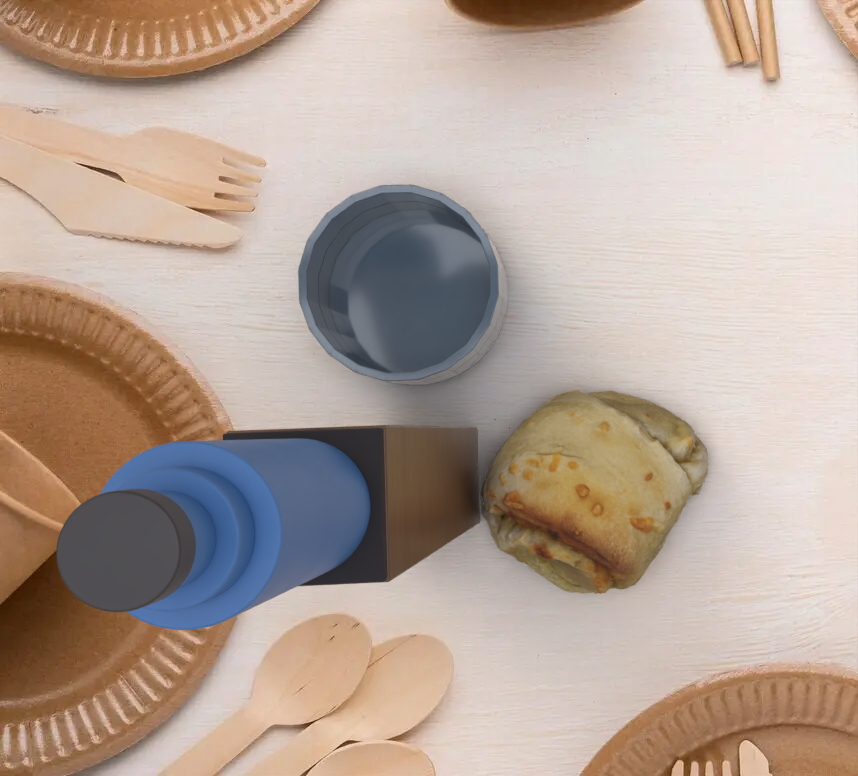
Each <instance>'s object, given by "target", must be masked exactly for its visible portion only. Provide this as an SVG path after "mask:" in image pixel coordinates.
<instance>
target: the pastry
mask: <svg viewBox="0 0 858 776" xmlns="http://www.w3.org/2000/svg"><path fill="white" fill-rule="evenodd" d="M708 459H709V457H708V450H707V447H706V445H705V443H704V441H702V439H701V438H699V437H698V436H697V434H696V433H695V429H694V428H693V426H691V425H690V424H689V422H686V421H685V420H683V419H682V418H680V417H679V416H677V415H676V414H674V413H672V412H671V411H669V410H668V409H666V408H664V407H662V406H661V405H659V404H657V403H654V402H651V401H650V400H646V399H644V398H640V397H637V396H634V395H633V396H632V395H628V394H624V393H620V392H617V391H614V390H604V391H603V390H600V391H593V392H591V391H590V392H587V393H586V392H584V391H580V390H578V389H574V390H570V391H565V392H561V393H559V394H556V395H554V396H552V397H550V398H549V399H548V400H546V401H545V402H544V403H543V404H542V405H540V406H539V407H538V408H537V409H536V410H535V411H534V412H533V413H532V414H530V415H529V416H528V417H527V418H526V419H524V420H523V421H522V422H521V423H520V425H519V426H518V428H517V429H516V430H515V431H514V432H513V433H512V434H511V435H510V436H509V437H508V438H507V439H506V441H505V442H504V443H503V445H502V448H501V449H500V450H499V452H498V453H497V454H496V456H495V457H494V458H493V460H492V462H491V463H490V465H489V467H488V469H487V471H486V474H485V478H484V481H483V483H482V486H481V490H480V492H479V496H480V498H481V501H482V507H481V511H480V514H481V515H482V517H483V518H484V519H485V521H486V523H487V526H488V529H489V531H490V535H491V538H492V539H493V540H494V543H495V545H496V547H497V550H499V551H500V552H503V553H505V554H508V555H509V556H512V557H513V558H515V559H516V561H518V562H520V563H523V564H526V565H527V567H528V568H530V569H531V570H533V571H534V572H535V573H537V574H539V575H540V576H542V577H543V578H544V579H546V580H547V581H548V582H550V583H552V585H554V586H556V587H558V588H559V589H561V590H563V591H565V592H568V593H579V594H600V595H601V594H606V593H607V592H608V591H609V590H613V589H616V590H621V591H622V590H626V589H629V588H631V587H633V586H636V585H637V584H638V583H639V581H640V580H641V579H642V578H643V576H644V575H645V574H646V571H648V568H649V566H650V565H651V563H652V562H653V561H654V559H655V558H656V557H657V556H658V554H659V553H660V552H661V550H662V548H663V547H664V544H665V542H666V539H667V537H668V535H669V533H670V532H671V531H672V529H673V528H674V526H675V525H676V523H678V520H679V518H680V516H681V513H682V511H683V509H684V508H685V506H686V505H687V503H688V501H689V498H690V497H691V496H698V495H700V493H701V491H702V489H703V487H704V483H705V481H706V477H707V476H708V470H709V460H708Z"/></svg>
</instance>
